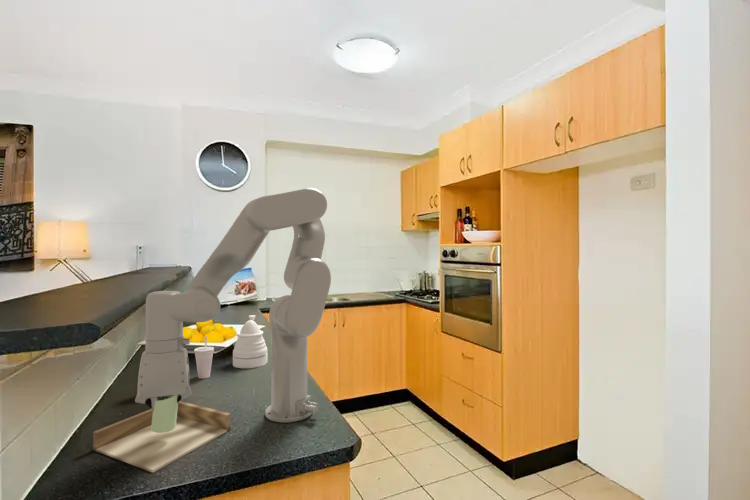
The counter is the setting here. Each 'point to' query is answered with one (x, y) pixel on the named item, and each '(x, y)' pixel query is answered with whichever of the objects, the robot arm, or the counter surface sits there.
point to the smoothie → (204, 360)
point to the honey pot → (250, 346)
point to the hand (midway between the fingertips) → (163, 425)
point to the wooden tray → (160, 436)
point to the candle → (164, 414)
